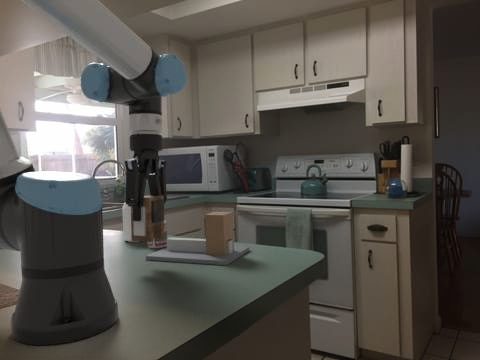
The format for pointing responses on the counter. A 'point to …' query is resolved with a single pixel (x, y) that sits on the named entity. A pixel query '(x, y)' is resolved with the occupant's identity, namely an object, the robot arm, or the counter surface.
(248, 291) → the counter surface
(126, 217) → the white piece
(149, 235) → the notched tan block
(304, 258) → the counter surface
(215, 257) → the rail
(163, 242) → the pill bottle
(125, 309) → the counter surface
